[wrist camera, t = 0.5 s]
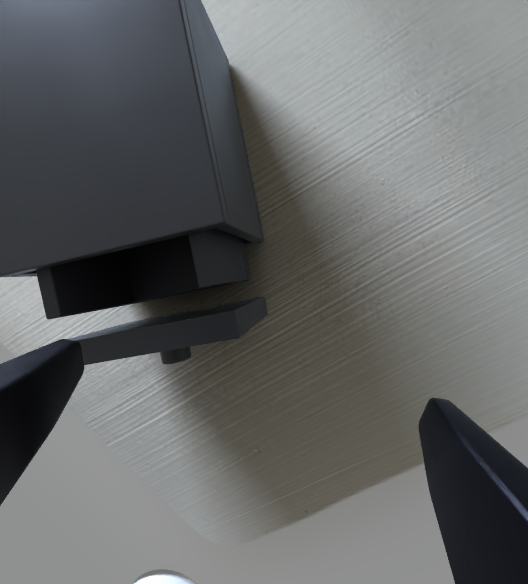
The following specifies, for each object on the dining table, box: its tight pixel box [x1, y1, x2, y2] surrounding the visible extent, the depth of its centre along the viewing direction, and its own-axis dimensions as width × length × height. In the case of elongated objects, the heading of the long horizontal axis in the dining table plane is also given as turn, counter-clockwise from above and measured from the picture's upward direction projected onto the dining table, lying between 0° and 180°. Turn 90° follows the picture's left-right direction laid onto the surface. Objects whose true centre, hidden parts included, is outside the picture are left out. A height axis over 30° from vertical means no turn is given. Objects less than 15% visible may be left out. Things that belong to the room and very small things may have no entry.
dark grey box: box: [0, 0, 264, 277], centre depth 19 cm, size 12×11×9 cm
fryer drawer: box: [36, 228, 268, 365], centre depth 19 cm, size 12×10×8 cm
